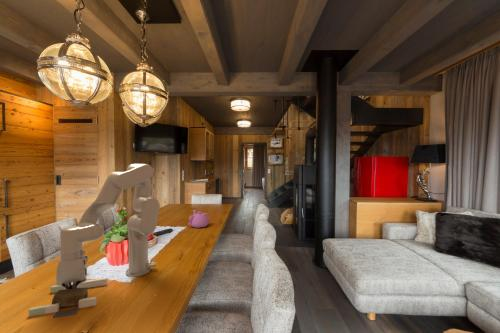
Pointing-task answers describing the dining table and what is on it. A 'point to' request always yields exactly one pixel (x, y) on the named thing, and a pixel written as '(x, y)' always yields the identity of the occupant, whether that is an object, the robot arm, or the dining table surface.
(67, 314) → the mat
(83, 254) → the robot arm
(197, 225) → the teapot
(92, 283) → the set of beige bars
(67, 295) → the stone block
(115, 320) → the dining table surface
